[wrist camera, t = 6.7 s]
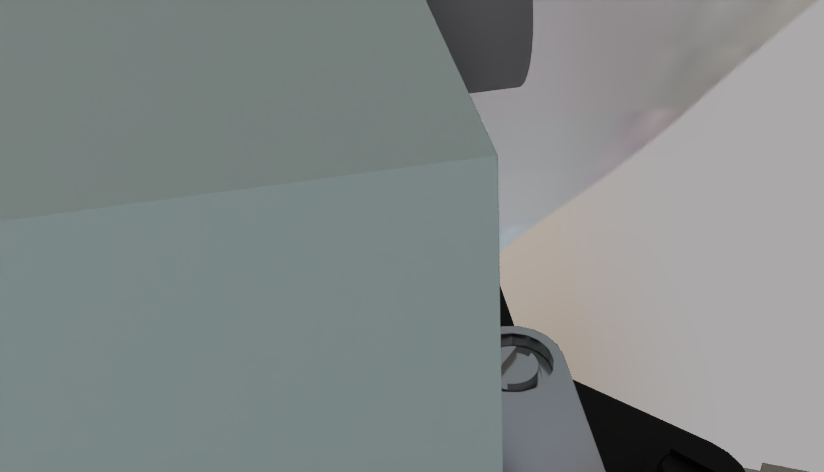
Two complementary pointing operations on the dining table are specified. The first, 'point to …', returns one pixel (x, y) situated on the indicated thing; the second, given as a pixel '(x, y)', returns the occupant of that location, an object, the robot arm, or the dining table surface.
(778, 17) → the dining table surface
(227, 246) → the grey flat block
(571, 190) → the dining table surface
